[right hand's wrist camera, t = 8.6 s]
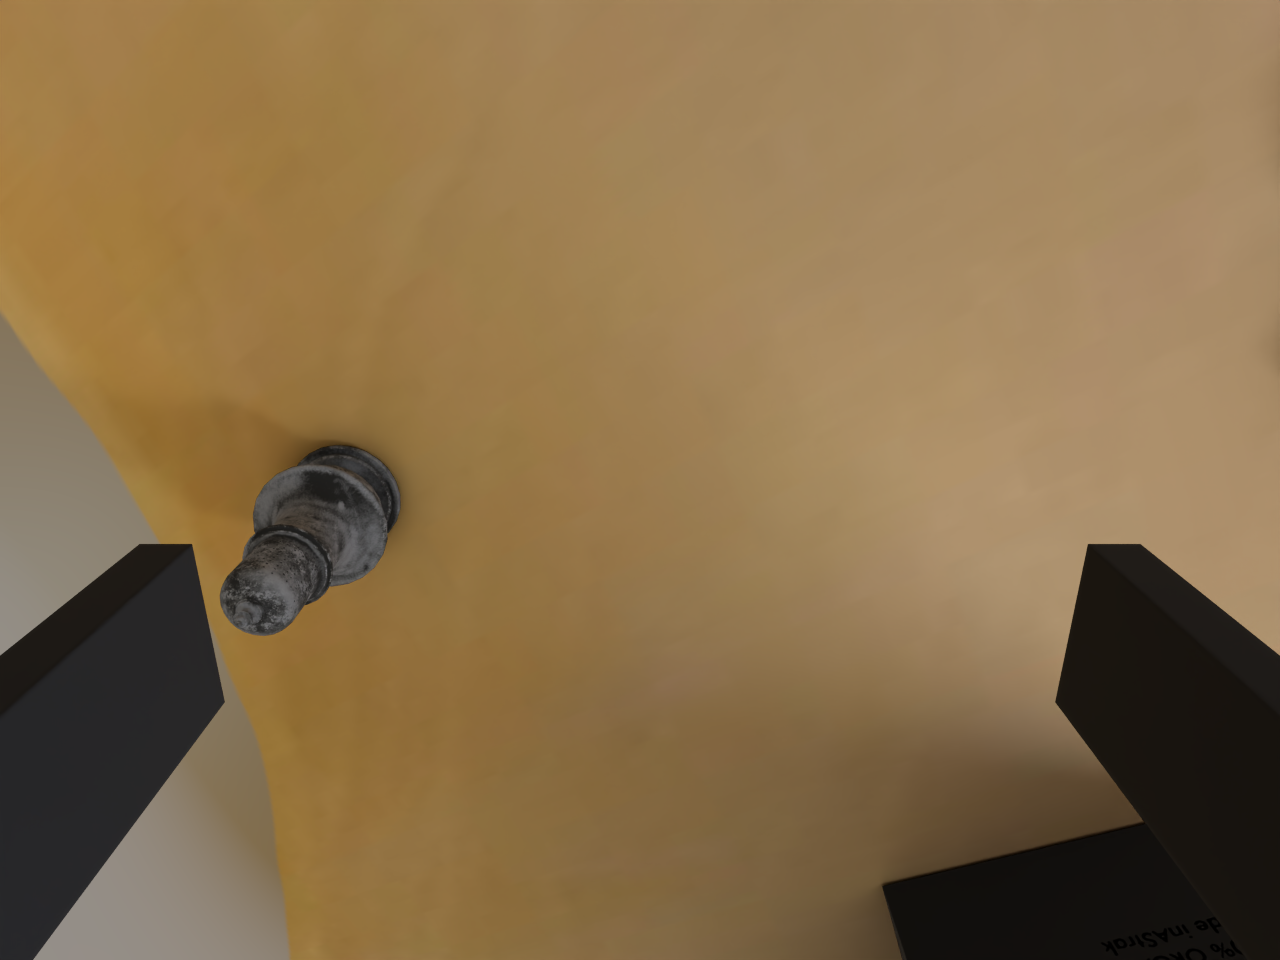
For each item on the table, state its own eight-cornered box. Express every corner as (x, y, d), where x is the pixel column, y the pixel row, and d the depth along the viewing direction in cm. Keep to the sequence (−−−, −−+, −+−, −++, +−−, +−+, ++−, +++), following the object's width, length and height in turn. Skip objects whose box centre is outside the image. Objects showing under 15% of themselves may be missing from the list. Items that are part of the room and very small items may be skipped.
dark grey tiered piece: (315, 566, 43) (202, 713, 32) (262, 459, 41) (120, 577, 30) (425, 533, 42) (350, 671, 31) (376, 423, 40) (277, 529, 29)
